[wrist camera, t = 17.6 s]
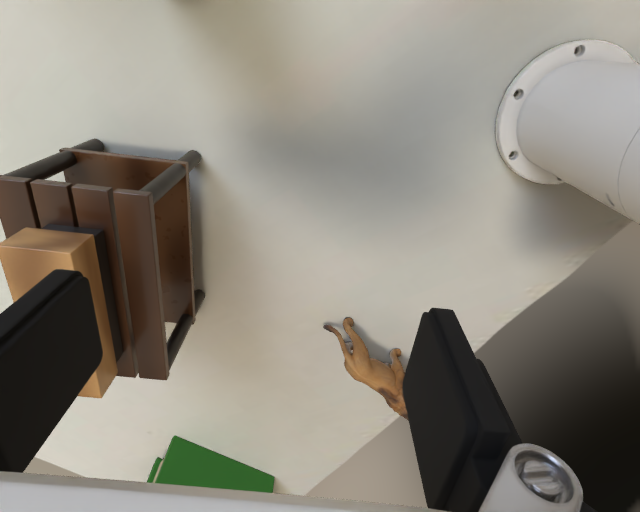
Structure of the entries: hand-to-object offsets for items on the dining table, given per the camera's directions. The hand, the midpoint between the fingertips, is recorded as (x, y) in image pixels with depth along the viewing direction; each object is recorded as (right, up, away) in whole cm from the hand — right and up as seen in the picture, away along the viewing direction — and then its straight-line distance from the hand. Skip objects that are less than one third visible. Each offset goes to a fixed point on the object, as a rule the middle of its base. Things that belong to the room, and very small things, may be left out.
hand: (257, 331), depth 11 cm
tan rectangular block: (-17, -1, +21) cm, 27 cm away
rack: (-17, +5, +32) cm, 36 cm away
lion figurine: (+9, -9, +40) cm, 42 cm away
